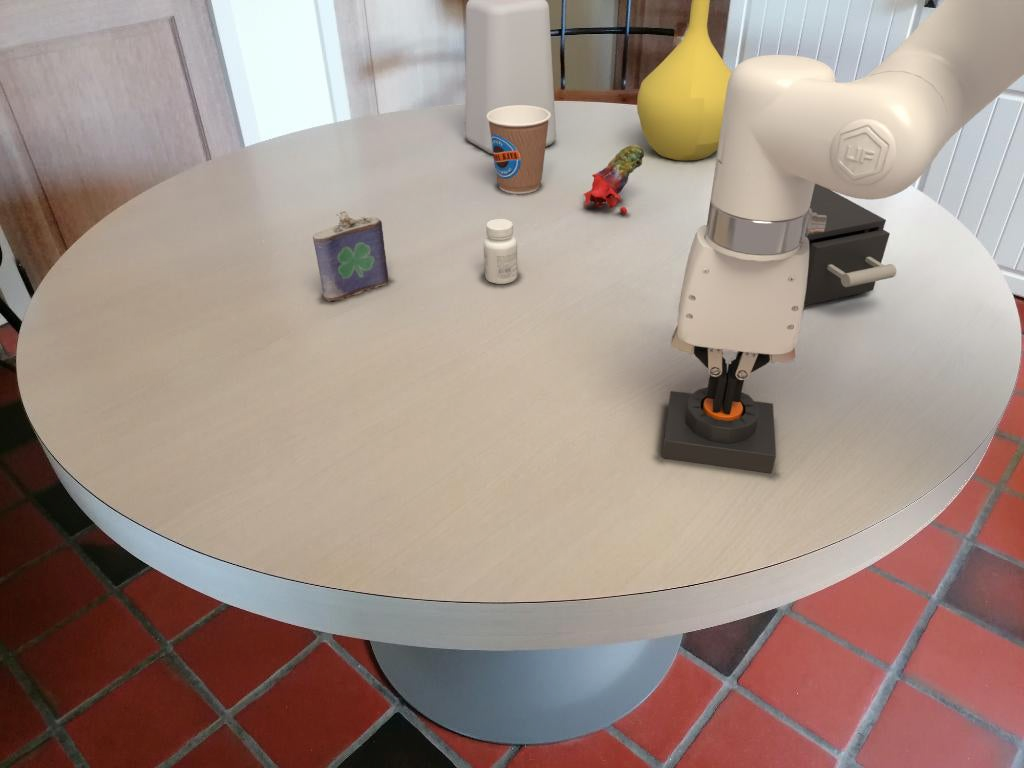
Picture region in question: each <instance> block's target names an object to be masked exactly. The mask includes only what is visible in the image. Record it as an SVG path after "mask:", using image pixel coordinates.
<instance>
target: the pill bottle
mask: <svg viewBox="0 0 1024 768" xmlns="http://www.w3.org/2000/svg"><path fill="white" fill-rule="evenodd" d="M485 227H486V232H485V233H486V236H487V237H485V239H484V241H483V261H484V265H483V266H484V277H485V279H486V281H487V282H489V283H492V284H495V285H507V284H510V283H513V282H514V281H515V280H516V279H517V278H518V274H519V273H518V268H519V267H518V240H517V239H516V238H515V236H513V235H514V223H513V222H512V221H511V220H510V219H505V218H493V219H491V220H489V221H487V223H486V225H485Z"/></svg>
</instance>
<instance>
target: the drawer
mask: <svg viewBox="0 0 1024 768" xmlns="http://www.w3.org/2000/svg"><path fill="white" fill-rule="evenodd" d="M869 231H870V229H865V230H860V231H855V232H850V233H845V234H839V235H834V236H829V237H824V238H819V239H814V240H809V266H808V275H807V287H806V295H805V301H804V306H808V305H813V304H817V303H821V302H822V303H823V302H826V301H830V300H834V299H840V298H844V297H849V296H853V295H857V294H863V293H867V292H872V291H874V288H875V286H876V282H878V281H883V280H887V279H891V278H894V277H896V275H897V268H896V265H894V264H892V263H889V264H883V263H882V261H883V259H884V255H885V252H886V248H887V245H888V242H889V237H890V235H891V234H890V232H889V231H887V230H885V229H883V230H878V231H873V232H869Z"/></svg>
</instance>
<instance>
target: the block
mask: <svg viewBox="0 0 1024 768" xmlns="http://www.w3.org/2000/svg"><path fill="white" fill-rule="evenodd" d="M707 388H708V386H706V387H701V388H698V389H696V390H695V391H694V392H693V393H691V392H684V391H675V390H671V391H670V393H669V400H668V409H667V416H666V425H665V432H664V441H663V449H662V458H663V459H666V460H667V459H668V460H675V461H681V462H689V463H697V464H704V465H709V466H716V467H717V466H720V467H726V468H731V469H739V470H746V471H754V472H758V473H759V472H760V473H767V474H772V473H773V469H774V465H775V461H776V457H777V451H776V450H777V449H776V434H775V417H774V414H775V413H774V404H773V402H765V401H764V402H763V401H757V400H754V399H753V398H752V397H751V396H750V395H749V394H747V393H745V392H743V391H742V393H741V398H740V402H741V404H742V406H743V411H742V415H741V418H740V419H735V420H731V421H725V420H718V419H715V418H713V417H711V416H709V415H707V414H705V413H704V411H703V405H704V401H705V399H706V398H707Z"/></svg>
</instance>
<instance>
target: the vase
mask: <svg viewBox="0 0 1024 768" xmlns="http://www.w3.org/2000/svg"><path fill="white" fill-rule="evenodd" d="M710 2H711V0H691V4H690V12H689V13H690V14H689V22H688V27H687V30H686V32H685V34H684V36H683V38H682V39H681V41H680V42H679V43H678V45H676V46H675V48H674V49H673V50H671V52H670V53H669V54H668V55H667V56H666V57H665V58H664V60H662V62H661V63H659V65H658V66H656V67H655V68H654V69H653V70H652V71H651V72H650V73H649V74H648V75H647V76H646V77H645V78H644V79H643V80H642V81H641V84H640V87H639V90H638V93H637V101H636V110H637V114H638V119H639V123H640V127H641V131H642V133H643V136H644V137H645V140H646V141H647V143H648V145H649V146H650V147H651V149H653V150H654V151H655V152H656V154H658V155H660V156H661V157H663V158H666V159H669V160H673V161H690V162H691V161H699V160H702V159H706V158H708V157H710V156H711V155H712V154H714V153H715V152H716V151H718V145H719V138H720V131H721V125H722V118H723V111H724V104H725V97H726V91H727V86H728V81H729V78H730V75H731V73H732V71H731V69H730V68H729V67H728V65H727V64H726V63H725V61H724V60H723V59H722V57H721V55H720V54H719V52H718V51H717V49H716V47H715V46H714V45H713V43H712V41H711V38H710V35H709V30H708V22H709V21H708V20H709V19H708V18H709V14H710V13H709V11H710Z"/></svg>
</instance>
